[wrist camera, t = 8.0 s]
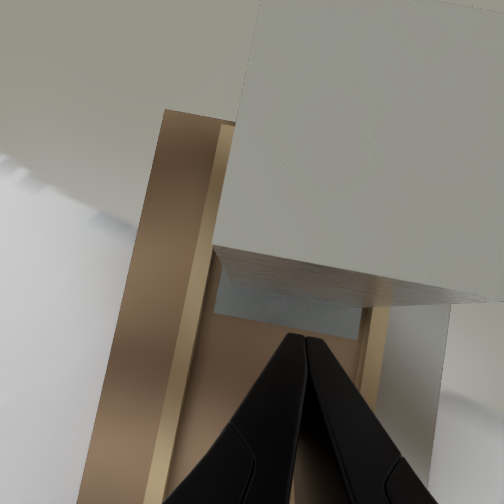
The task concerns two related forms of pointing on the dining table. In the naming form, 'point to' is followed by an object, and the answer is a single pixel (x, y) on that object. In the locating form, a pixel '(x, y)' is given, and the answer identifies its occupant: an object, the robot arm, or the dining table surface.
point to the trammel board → (225, 340)
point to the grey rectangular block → (364, 163)
